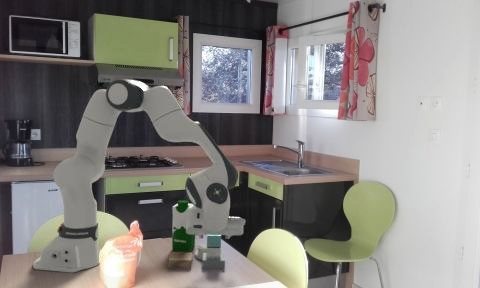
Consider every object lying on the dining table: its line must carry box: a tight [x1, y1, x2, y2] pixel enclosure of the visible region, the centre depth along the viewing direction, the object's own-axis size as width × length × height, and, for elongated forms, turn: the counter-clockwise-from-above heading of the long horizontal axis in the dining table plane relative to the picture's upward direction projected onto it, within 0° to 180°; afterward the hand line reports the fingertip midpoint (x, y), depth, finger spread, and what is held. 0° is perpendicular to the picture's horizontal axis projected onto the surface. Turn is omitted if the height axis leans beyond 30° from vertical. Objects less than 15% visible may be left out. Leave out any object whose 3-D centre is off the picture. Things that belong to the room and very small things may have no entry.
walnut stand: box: [168, 251, 193, 269], centre depth 158 cm, size 8×8×3 cm
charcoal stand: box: [201, 252, 226, 270], centre depth 159 cm, size 8×8×3 cm
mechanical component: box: [194, 242, 207, 261], centre depth 168 cm, size 10×4×10 cm
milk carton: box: [171, 199, 197, 253], centre depth 175 cm, size 9×9×20 cm
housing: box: [206, 235, 222, 259], centre depth 159 cm, size 5×4×9 cm
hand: (214, 236), depth 157 cm, fingers open, 8 cm apart
